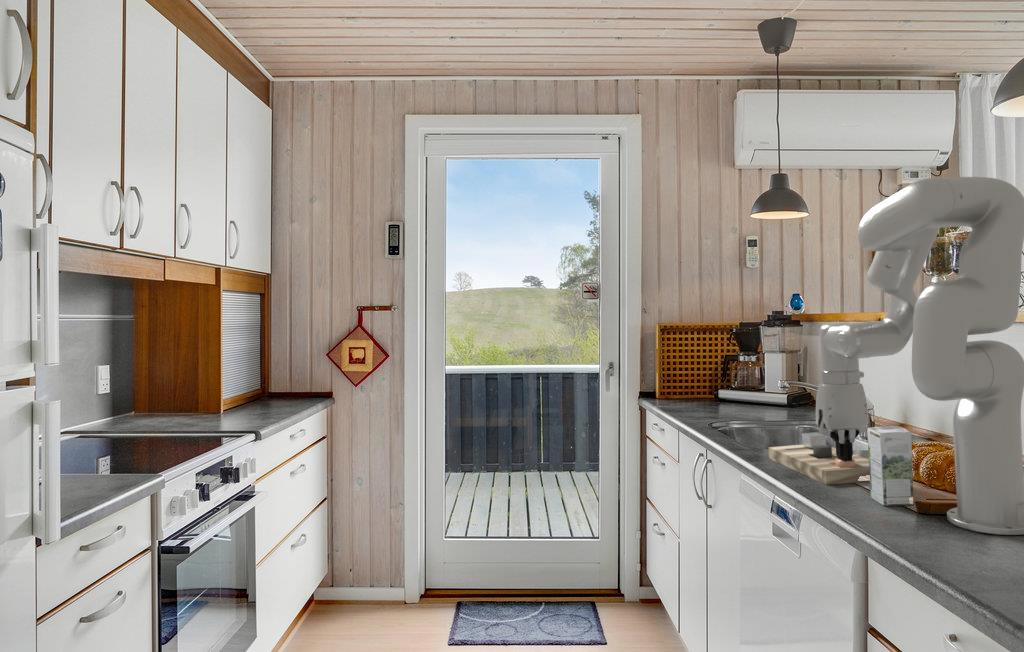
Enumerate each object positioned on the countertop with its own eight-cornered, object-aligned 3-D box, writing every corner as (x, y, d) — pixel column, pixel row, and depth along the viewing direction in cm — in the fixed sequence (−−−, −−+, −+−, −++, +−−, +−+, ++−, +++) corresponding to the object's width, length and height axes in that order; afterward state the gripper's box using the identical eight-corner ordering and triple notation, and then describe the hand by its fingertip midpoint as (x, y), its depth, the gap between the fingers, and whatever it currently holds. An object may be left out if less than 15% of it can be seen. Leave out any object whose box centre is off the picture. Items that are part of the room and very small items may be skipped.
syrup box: (900, 497, 130) (896, 424, 129) (915, 506, 124) (911, 430, 124) (870, 498, 130) (866, 426, 130) (884, 507, 124) (879, 431, 124)
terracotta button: (859, 475, 144) (858, 461, 144) (842, 477, 144) (841, 462, 144) (848, 471, 148) (848, 457, 148) (832, 472, 148) (831, 458, 148)
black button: (835, 461, 153) (835, 447, 153) (819, 462, 153) (818, 449, 152) (826, 457, 157) (825, 444, 157) (810, 458, 157) (809, 445, 156)
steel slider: (826, 447, 162) (825, 435, 162) (810, 448, 162) (810, 436, 162) (817, 443, 166) (816, 432, 166) (802, 445, 166) (801, 433, 166)
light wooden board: (887, 479, 142) (886, 465, 142) (826, 484, 141) (825, 471, 141) (821, 454, 168) (820, 442, 168) (769, 458, 167) (768, 447, 167)
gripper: (861, 374, 150) (865, 453, 150) (799, 379, 148) (803, 458, 149) (883, 377, 142) (887, 460, 143) (817, 382, 141) (822, 466, 141)
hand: (844, 459), depth 146 cm, fingers closed
